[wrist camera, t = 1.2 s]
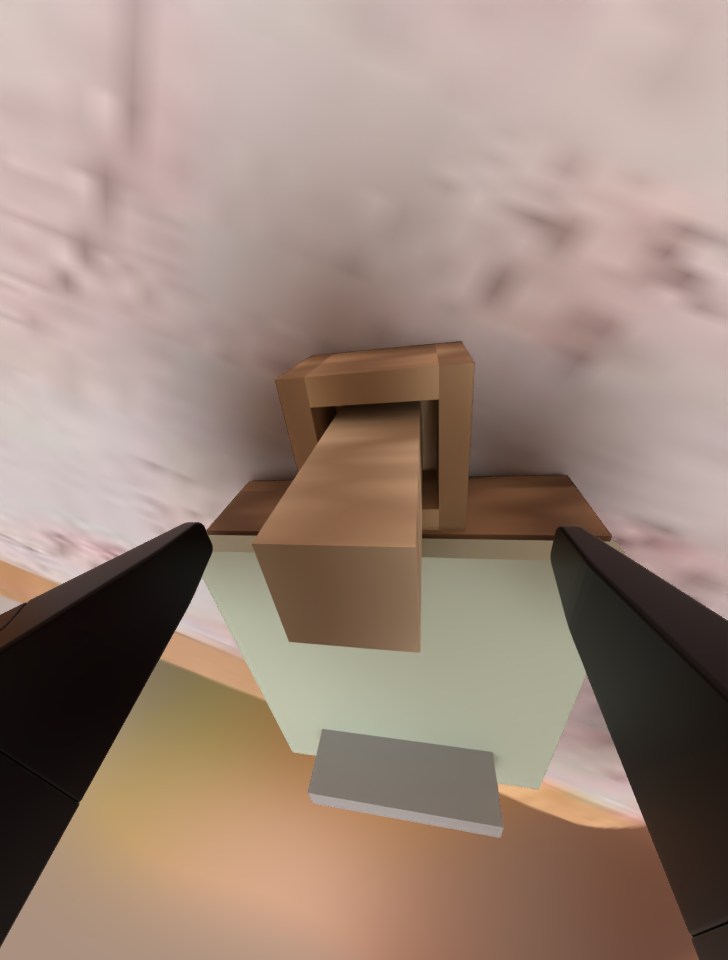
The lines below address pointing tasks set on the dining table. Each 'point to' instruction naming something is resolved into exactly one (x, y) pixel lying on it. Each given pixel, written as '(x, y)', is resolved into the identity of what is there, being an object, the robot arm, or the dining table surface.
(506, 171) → the dining table surface
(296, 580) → the brown wooden block
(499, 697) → the lid
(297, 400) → the wooden box tray
